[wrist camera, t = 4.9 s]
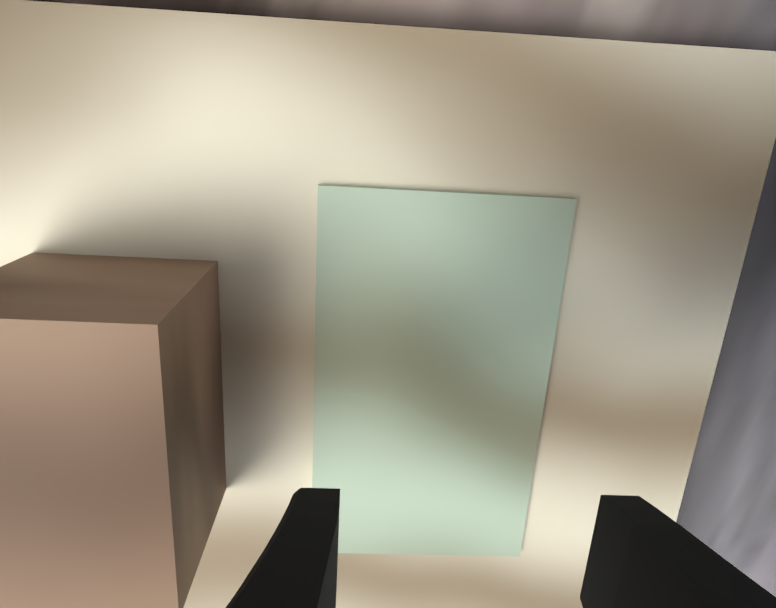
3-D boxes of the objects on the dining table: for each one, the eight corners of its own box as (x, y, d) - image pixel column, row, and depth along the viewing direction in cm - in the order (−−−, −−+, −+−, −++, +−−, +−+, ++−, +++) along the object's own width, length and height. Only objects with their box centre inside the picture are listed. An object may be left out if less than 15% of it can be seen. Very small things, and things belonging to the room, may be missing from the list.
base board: (623, 600, 19) (647, 647, 17) (75, 593, 18) (46, 641, 16) (752, 58, 13) (804, 52, 12) (-10, 7, 13) (-65, -7, 11)
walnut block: (225, 488, 15) (179, 618, 11) (65, 484, 15) (-39, 616, 11) (217, 260, 13) (158, 324, 9) (32, 252, 13) (-108, 314, 9)
